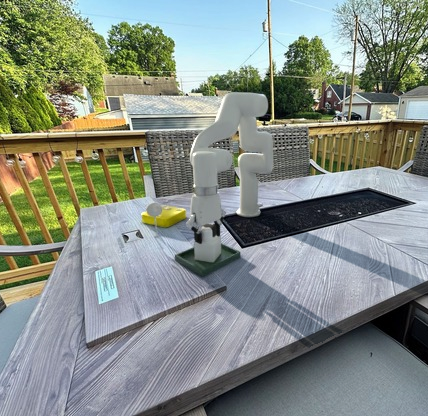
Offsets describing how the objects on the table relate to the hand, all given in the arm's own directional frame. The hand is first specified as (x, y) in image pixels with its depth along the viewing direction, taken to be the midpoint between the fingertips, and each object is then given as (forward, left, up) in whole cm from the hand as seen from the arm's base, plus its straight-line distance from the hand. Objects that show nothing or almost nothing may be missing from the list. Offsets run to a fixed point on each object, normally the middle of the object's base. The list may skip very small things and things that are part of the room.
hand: (207, 238), depth 91 cm
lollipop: (+3, -29, -8) cm, 30 cm away
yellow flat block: (-9, -43, -8) cm, 45 cm away
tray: (0, 0, -8) cm, 8 cm away
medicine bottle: (0, 0, -8) cm, 8 cm away
